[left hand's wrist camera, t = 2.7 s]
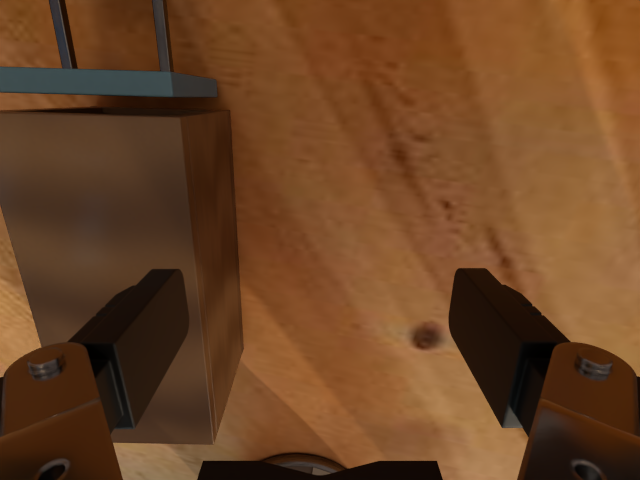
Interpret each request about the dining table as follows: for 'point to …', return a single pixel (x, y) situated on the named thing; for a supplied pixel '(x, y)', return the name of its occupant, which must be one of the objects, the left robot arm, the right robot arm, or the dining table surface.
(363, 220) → the dining table surface
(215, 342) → the brown sleeve box
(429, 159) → the dining table surface
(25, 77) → the drawer
